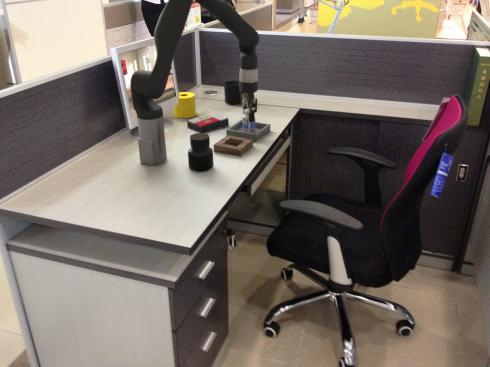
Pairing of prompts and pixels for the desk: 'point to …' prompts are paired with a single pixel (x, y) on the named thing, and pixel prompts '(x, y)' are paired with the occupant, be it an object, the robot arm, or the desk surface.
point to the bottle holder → (233, 145)
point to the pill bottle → (247, 122)
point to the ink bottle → (200, 153)
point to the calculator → (208, 123)
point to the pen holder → (232, 92)
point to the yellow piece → (185, 105)
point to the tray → (237, 131)
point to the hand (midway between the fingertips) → (248, 118)
